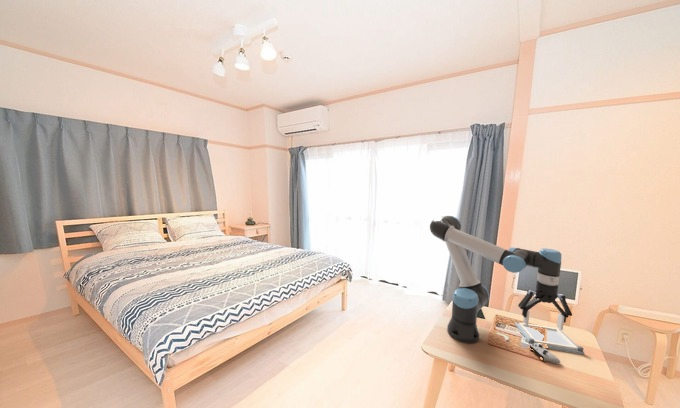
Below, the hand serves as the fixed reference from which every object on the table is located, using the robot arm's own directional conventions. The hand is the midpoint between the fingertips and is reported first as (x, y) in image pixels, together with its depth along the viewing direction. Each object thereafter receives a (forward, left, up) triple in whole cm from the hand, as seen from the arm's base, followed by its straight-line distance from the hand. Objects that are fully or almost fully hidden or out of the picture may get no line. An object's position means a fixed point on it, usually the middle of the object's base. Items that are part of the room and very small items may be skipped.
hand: (542, 325), depth 110 cm
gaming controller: (+1, 0, -15) cm, 15 cm away
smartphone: (-18, +33, -15) cm, 40 cm away
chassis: (+10, +15, -14) cm, 23 cm away
